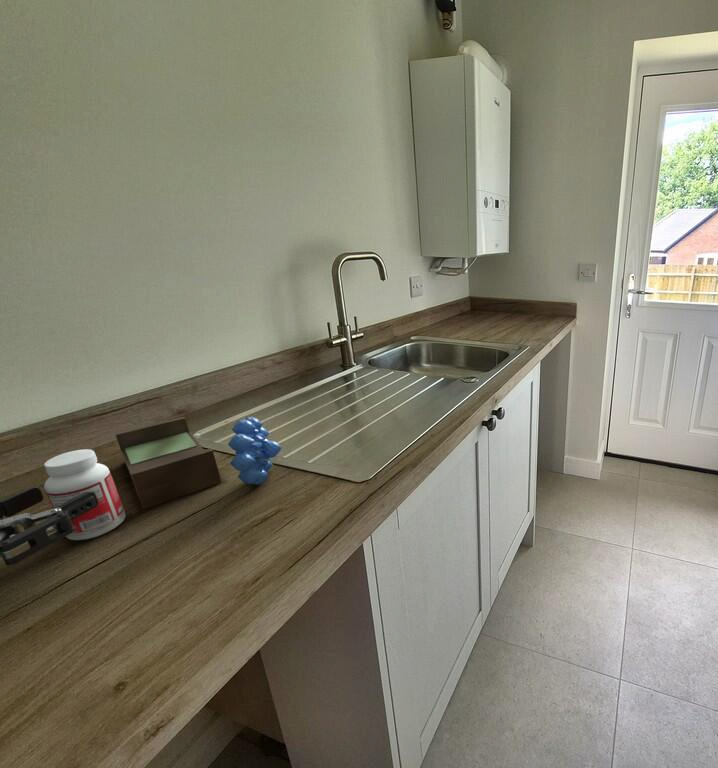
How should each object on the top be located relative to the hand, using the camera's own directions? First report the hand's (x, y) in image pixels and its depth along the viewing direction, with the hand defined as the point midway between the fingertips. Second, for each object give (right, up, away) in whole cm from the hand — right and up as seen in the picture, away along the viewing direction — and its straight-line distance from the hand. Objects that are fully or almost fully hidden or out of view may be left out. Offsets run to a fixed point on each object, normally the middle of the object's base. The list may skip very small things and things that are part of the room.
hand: (66, 495), depth 54 cm
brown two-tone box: (-1, -1, +18) cm, 18 cm away
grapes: (+17, -2, +15) cm, 23 cm away
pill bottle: (0, -6, +4) cm, 7 cm away
